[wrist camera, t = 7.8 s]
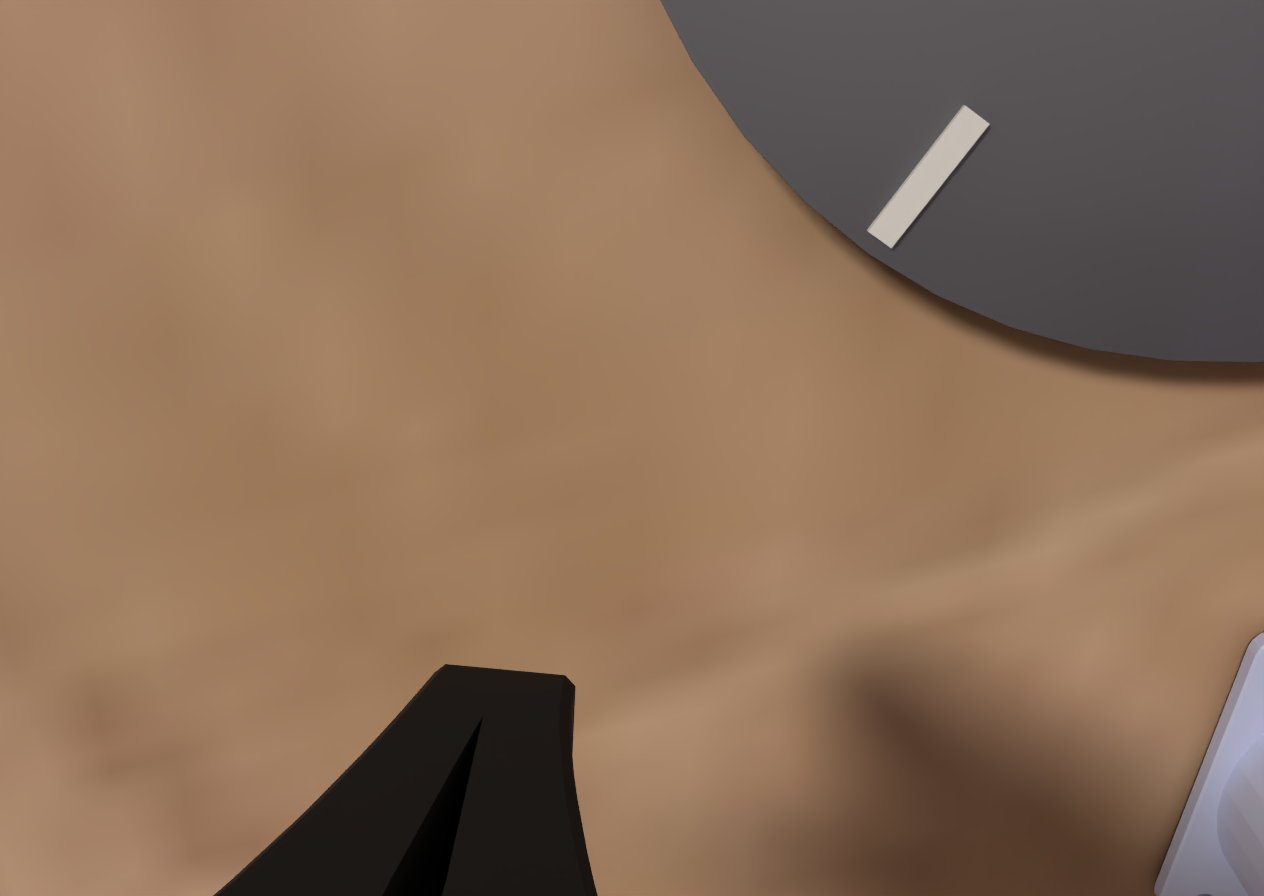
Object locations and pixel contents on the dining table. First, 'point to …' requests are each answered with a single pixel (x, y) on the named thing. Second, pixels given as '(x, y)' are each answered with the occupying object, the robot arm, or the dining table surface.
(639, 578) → the dining table surface
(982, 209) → the tuner dial
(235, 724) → the dining table surface
